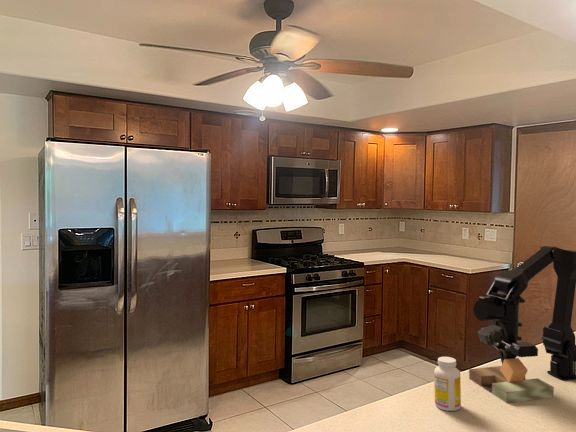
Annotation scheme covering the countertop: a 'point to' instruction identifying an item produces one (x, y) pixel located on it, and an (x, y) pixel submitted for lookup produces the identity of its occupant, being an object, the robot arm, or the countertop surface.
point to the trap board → (510, 385)
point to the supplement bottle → (447, 385)
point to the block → (513, 370)
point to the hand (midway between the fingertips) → (506, 369)
